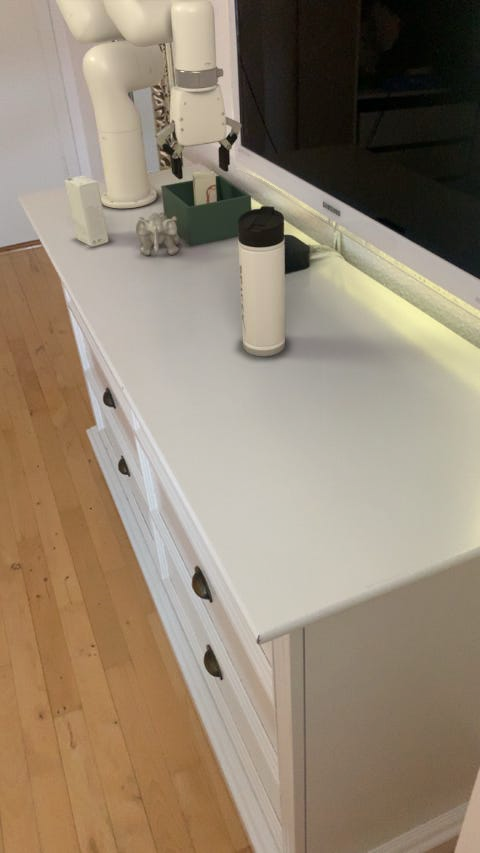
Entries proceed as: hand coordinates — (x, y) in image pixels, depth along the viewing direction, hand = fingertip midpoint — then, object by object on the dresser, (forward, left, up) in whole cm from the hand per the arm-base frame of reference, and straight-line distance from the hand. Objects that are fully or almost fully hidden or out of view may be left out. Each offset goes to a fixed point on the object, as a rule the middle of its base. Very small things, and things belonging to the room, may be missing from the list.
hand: (201, 173), depth 138 cm
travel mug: (+50, -11, -11) cm, 52 cm away
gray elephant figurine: (+10, -13, -11) cm, 19 cm away
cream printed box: (+1, 0, -10) cm, 10 cm away
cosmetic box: (-4, -23, -11) cm, 26 cm away
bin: (+1, 0, -11) cm, 11 cm away
